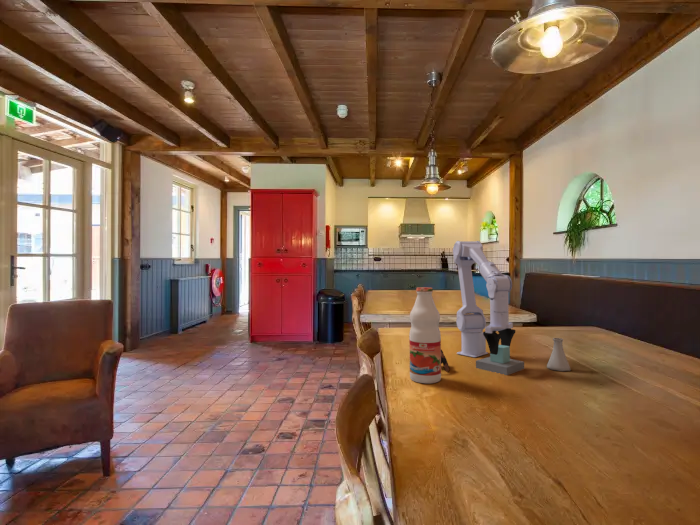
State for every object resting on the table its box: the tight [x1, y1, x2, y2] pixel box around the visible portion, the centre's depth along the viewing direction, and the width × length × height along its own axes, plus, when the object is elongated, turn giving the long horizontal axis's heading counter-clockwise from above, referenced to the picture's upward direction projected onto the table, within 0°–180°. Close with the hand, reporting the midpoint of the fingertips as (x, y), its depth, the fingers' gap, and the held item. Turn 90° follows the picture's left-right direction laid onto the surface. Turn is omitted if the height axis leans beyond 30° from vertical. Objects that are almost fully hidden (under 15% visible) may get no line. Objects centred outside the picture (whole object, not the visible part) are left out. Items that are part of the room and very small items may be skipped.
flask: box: [546, 337, 571, 372], centre depth 124 cm, size 7×7×10 cm
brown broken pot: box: [441, 349, 450, 373], centre depth 126 cm, size 12×10×8 cm
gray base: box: [475, 356, 525, 376], centre depth 125 cm, size 11×11×3 cm
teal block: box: [489, 344, 511, 363], centre depth 125 cm, size 4×4×5 cm
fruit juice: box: [408, 286, 442, 384], centre depth 114 cm, size 9×9×28 cm
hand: (499, 352), depth 125 cm, fingers open, 7 cm apart
